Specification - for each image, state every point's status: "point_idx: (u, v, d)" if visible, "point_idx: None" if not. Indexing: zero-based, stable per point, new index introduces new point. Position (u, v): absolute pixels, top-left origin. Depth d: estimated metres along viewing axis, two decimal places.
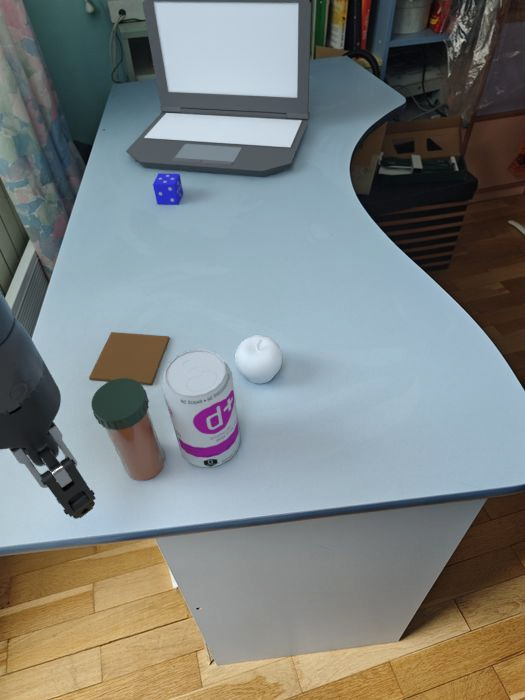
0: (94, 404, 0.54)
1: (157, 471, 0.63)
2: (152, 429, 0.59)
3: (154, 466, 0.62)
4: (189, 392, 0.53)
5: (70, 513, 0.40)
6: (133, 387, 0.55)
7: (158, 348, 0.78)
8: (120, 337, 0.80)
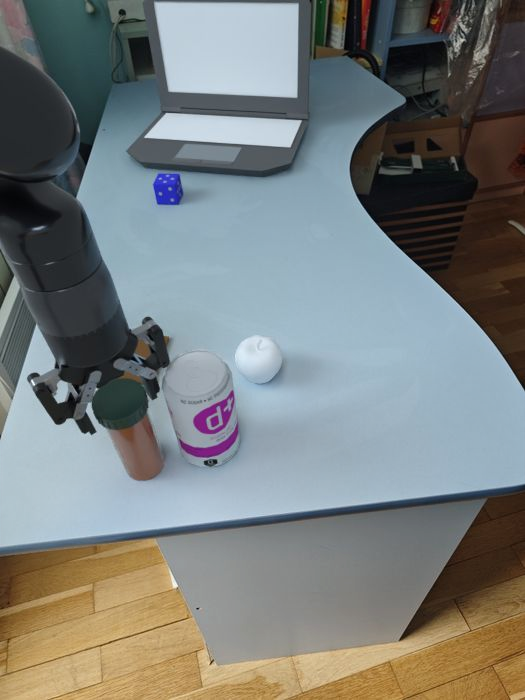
0: (94, 404, 0.54)
1: (157, 471, 0.63)
2: (152, 429, 0.59)
3: (154, 466, 0.62)
4: (189, 392, 0.53)
5: (168, 358, 0.54)
6: (133, 387, 0.55)
7: None
8: None
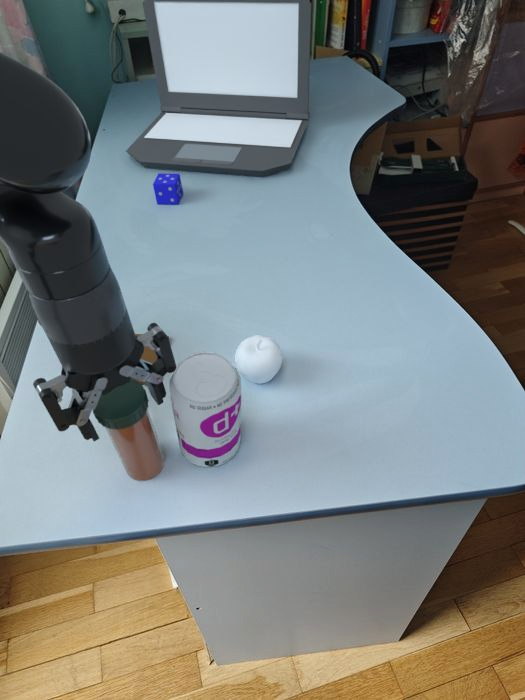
0: (120, 416, 0.52)
1: (157, 471, 0.63)
2: (152, 429, 0.59)
3: (154, 466, 0.62)
4: (198, 398, 0.53)
5: (175, 363, 0.55)
6: None
7: None
8: None
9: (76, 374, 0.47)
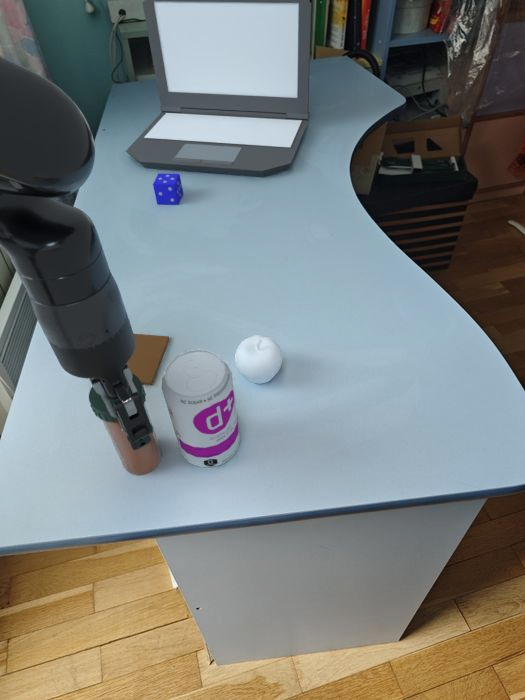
0: (139, 385, 0.55)
1: (155, 464, 0.63)
2: None
3: (152, 458, 0.62)
4: (189, 392, 0.53)
5: None
6: (99, 402, 0.54)
7: (158, 348, 0.78)
8: None
9: (122, 370, 0.48)
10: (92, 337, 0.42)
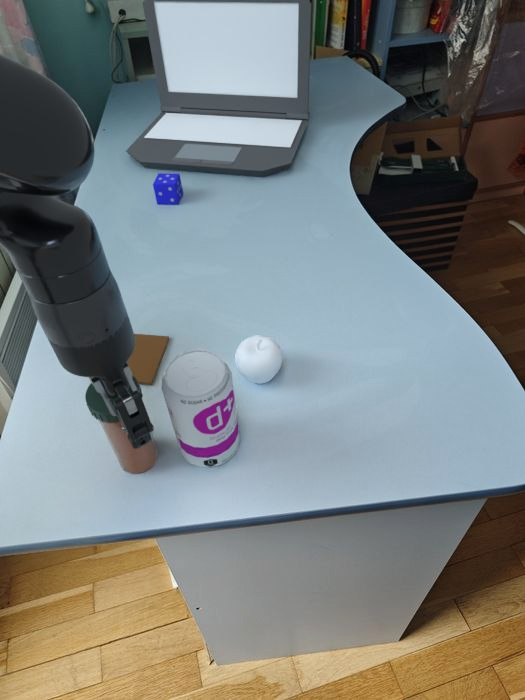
0: None
1: (153, 462, 0.64)
2: None
3: (150, 456, 0.62)
4: (189, 392, 0.53)
5: None
6: None
7: (158, 348, 0.78)
8: None
9: (123, 369, 0.48)
10: (92, 336, 0.42)
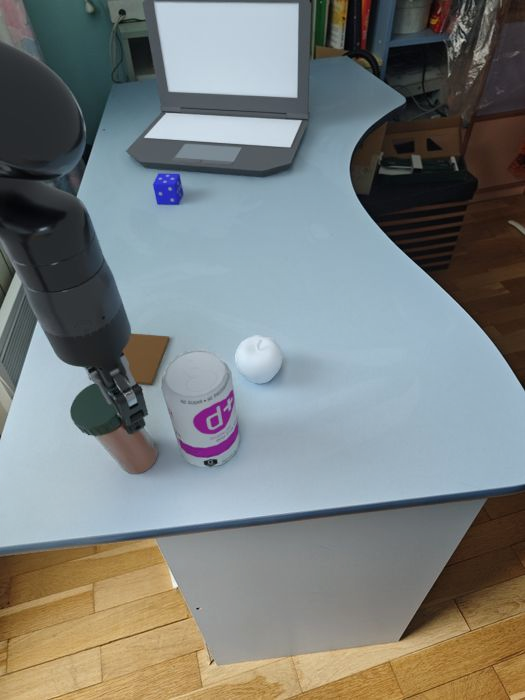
0: (73, 410, 0.53)
1: (151, 462, 0.63)
2: None
3: (148, 458, 0.62)
4: (189, 392, 0.53)
5: None
6: None
7: (158, 348, 0.78)
8: None
9: (119, 358, 0.47)
10: (89, 324, 0.42)
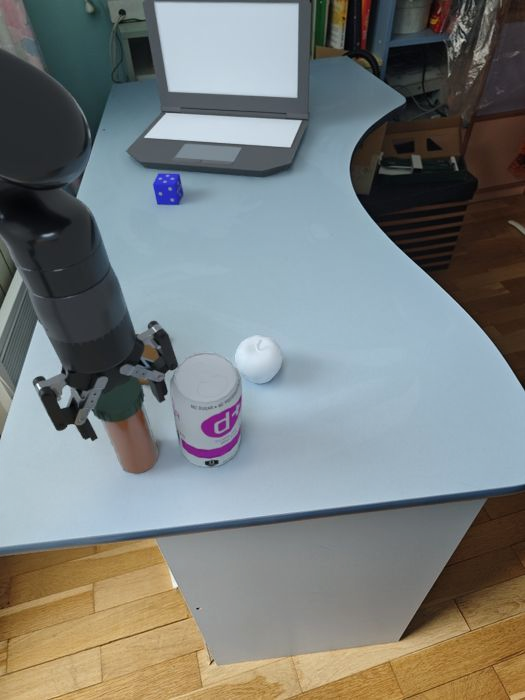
0: None
1: (152, 462, 0.64)
2: (147, 418, 0.60)
3: (150, 456, 0.62)
4: (200, 398, 0.53)
5: (176, 361, 0.54)
6: None
7: None
8: None
9: (76, 373, 0.46)
10: (39, 320, 0.43)
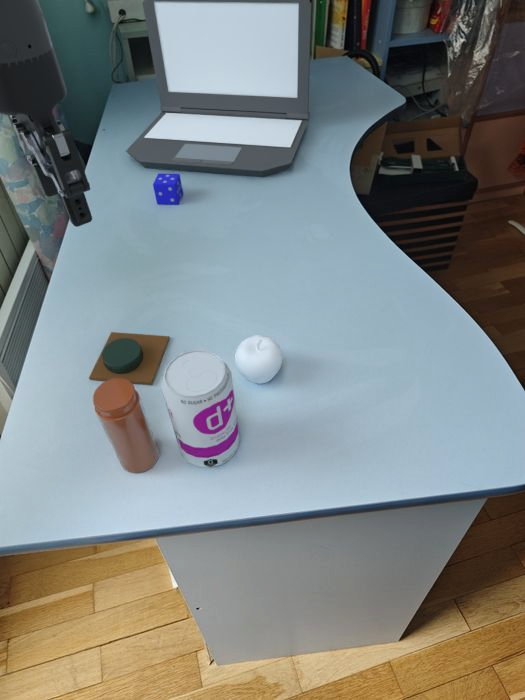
0: (123, 363, 0.73)
1: (154, 461, 0.64)
2: (146, 418, 0.60)
3: (151, 455, 0.63)
4: (189, 393, 0.53)
5: None
6: (113, 345, 0.76)
7: (158, 348, 0.78)
8: (120, 337, 0.80)
9: None
10: (13, 48, 0.41)
